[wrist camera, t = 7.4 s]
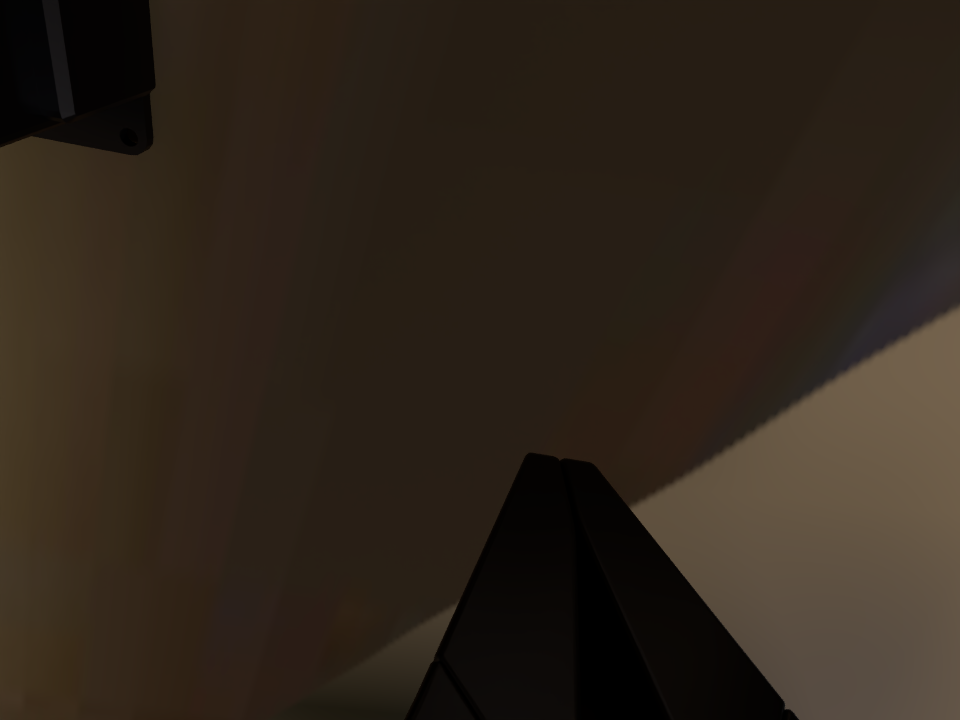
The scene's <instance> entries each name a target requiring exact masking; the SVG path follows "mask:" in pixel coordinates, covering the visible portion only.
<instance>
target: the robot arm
mask: <svg viewBox="0 0 960 720" xmlns="http://www.w3.org/2000/svg"><path fill="white" fill-rule="evenodd" d="M154 88H155V72H154V60H153V47H152V35H151V23H150V10H149V0H0V147H3V146H5V145H8V144H11V143H14V142H16V141H19V140H22V139H25V138H27V137H30V136H34V137H39V138H44V139H50V140H55V141H60V142H65V143H70V144H76V145H81V146H86V147H91V148H97V149H102V150H107V151H112V152H118V153H123V154H128V155H138V154H140V153H142V152H144V151H146V150H148V149H150V147H151V146H152V144H153V128H152V116H151V105H150V92H151V91H152V90H153V89H154ZM127 128H129V129H131V130H133V131H134V132H135V133H136V134H137V137H138V143H135V142H133V141H131V140H130V139H129V137H128V135H127ZM404 720H799V719H798V718H797V716H796V715H795V714H794V713H793V712H792V711H791V710H789V709H786V710H785V702H784V701H783V699H782V698H781V697H780V696H779V694H778V693H777V692H776V691H775V689H774V688H773V687H772V686H771V684H770V683H769V682H768V681H767V679H766V678H765V677H764V676H763V674H762V673H761V672H760V671H759V669H758V668H757V667H756V666H755V664H754V663H753V662H752V661H751V660H750V658H749V657H748V656H747V654H746V653H745V652H744V651H743V649H742V648H741V647H740V646H739V645H738V643H737V642H736V641H735V640H734V638H733V637H732V636H731V635H730V633H729V632H728V631H727V629H726V628H725V627H724V626H723V625H722V623H721V622H720V621H719V619H718V618H717V617H716V616H715V615H714V613H713V612H712V611H711V609H710V608H709V607H708V606H707V604H706V603H705V602H704V601H703V599H702V598H701V597H700V596H699V595H698V593H697V592H696V591H695V589H694V588H693V587H692V586H691V585H690V583H689V582H688V581H687V580H686V578H685V577H684V576H683V575H682V573H681V572H680V571H679V570H678V568H677V567H676V566H675V565H674V563H673V562H672V561H671V560H670V558H669V557H668V556H667V555H666V553H665V552H664V551H663V550H662V548H661V547H660V546H659V545H658V543H657V542H656V541H655V540H654V538H653V537H652V536H651V535H650V533H649V532H648V531H647V530H646V528H645V527H644V526H643V525H642V523H641V522H640V521H639V520H638V518H637V517H636V516H635V515H634V513H633V512H632V511H631V510H630V508H629V507H628V506H627V505H626V503H625V502H624V501H623V500H622V498H621V497H620V496H619V495H618V493H617V492H616V491H615V490H614V488H613V487H612V486H611V485H610V483H609V482H608V481H607V480H606V478H605V477H604V476H603V475H602V473H601V472H600V471H599V470H598V468H597V467H596V466H595V465H594V464H592V463H590V462H585V461H579V460H573V459H567V458H564V459H562V460H560V461H559V459H558V458H556V457H554V456H549V455H543V454H537V453H528V454H527V455H526V456H525V458H524V460H523V462H522V464H521V467H520V469H519V471H518V473H517V475H516V478H515V480H514V482H513V484H512V487H511V489H510V491H509V493H508V495H507V498H506V500H505V502H504V504H503V506H502V509H501V511H500V513H499V515H498V517H497V520H496V522H495V524H494V526H493V528H492V531H491V533H490V535H489V537H488V539H487V542H486V544H485V546H484V548H483V550H482V553H481V555H480V557H479V559H478V561H477V564H476V566H475V568H474V570H473V573H472V575H471V577H470V579H469V581H468V584H467V586H466V588H465V590H464V592H463V595H462V597H461V599H460V601H459V603H458V606H457V608H456V610H455V613H454V614H453V617H452V619H451V621H450V623H449V625H448V628H447V630H446V632H445V634H444V636H443V639H442V641H441V643H440V646H439V648H438V650H437V652H436V654H435V657H434V661H433V662H432V663H431V664H430V667H429V669H428V671H427V673H426V675H425V677H424V680H423V682H422V684H421V686H420V688H419V691H418V693H417V695H416V697H415V699H414V701H413V703H412V705H411V707H410V709H409V711H408V713H407V715H406V717H405V719H404Z"/></svg>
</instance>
